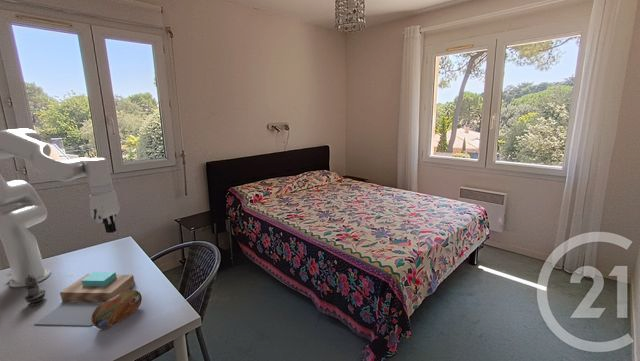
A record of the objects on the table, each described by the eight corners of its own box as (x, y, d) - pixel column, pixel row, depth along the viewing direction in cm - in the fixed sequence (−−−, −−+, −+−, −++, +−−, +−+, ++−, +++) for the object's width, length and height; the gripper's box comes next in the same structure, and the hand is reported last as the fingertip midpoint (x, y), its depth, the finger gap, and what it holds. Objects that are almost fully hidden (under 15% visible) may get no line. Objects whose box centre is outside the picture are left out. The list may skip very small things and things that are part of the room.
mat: (34, 324, 97) (34, 323, 96) (64, 303, 107) (64, 302, 107) (91, 326, 95) (90, 325, 95) (115, 304, 106) (115, 303, 106)
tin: (98, 335, 91) (92, 312, 89) (92, 332, 93) (87, 309, 91) (144, 306, 105) (140, 285, 103) (138, 304, 106) (134, 283, 104)
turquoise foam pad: (82, 286, 111) (81, 280, 110) (95, 277, 117) (94, 271, 116) (104, 286, 110) (103, 280, 110) (116, 277, 116) (115, 272, 115)
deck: (62, 301, 108) (59, 292, 107) (89, 282, 120) (86, 274, 119) (112, 302, 107) (110, 293, 106) (134, 283, 119) (133, 274, 118)
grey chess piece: (47, 295, 112) (39, 268, 109) (48, 302, 108) (39, 274, 105) (26, 303, 108) (17, 274, 105) (26, 310, 104) (16, 281, 101)
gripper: (107, 184, 122) (116, 224, 127) (76, 194, 108) (87, 239, 112) (124, 184, 122) (132, 224, 126) (95, 194, 107) (105, 239, 112)
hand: (111, 231), depth 119 cm, fingers closed
